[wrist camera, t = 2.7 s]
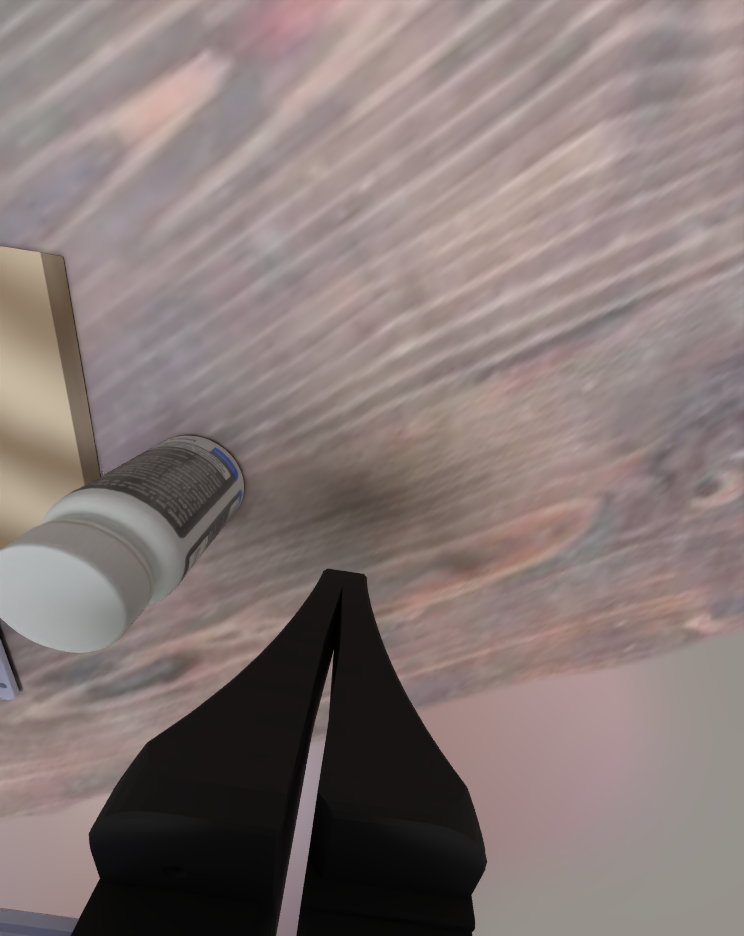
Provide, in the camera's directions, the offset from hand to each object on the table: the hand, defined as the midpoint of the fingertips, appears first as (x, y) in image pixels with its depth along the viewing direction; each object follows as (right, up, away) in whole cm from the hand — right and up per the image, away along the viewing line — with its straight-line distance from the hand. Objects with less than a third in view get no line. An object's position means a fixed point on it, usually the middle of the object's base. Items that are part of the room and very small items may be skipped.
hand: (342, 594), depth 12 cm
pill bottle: (-8, +4, +6) cm, 10 cm away
